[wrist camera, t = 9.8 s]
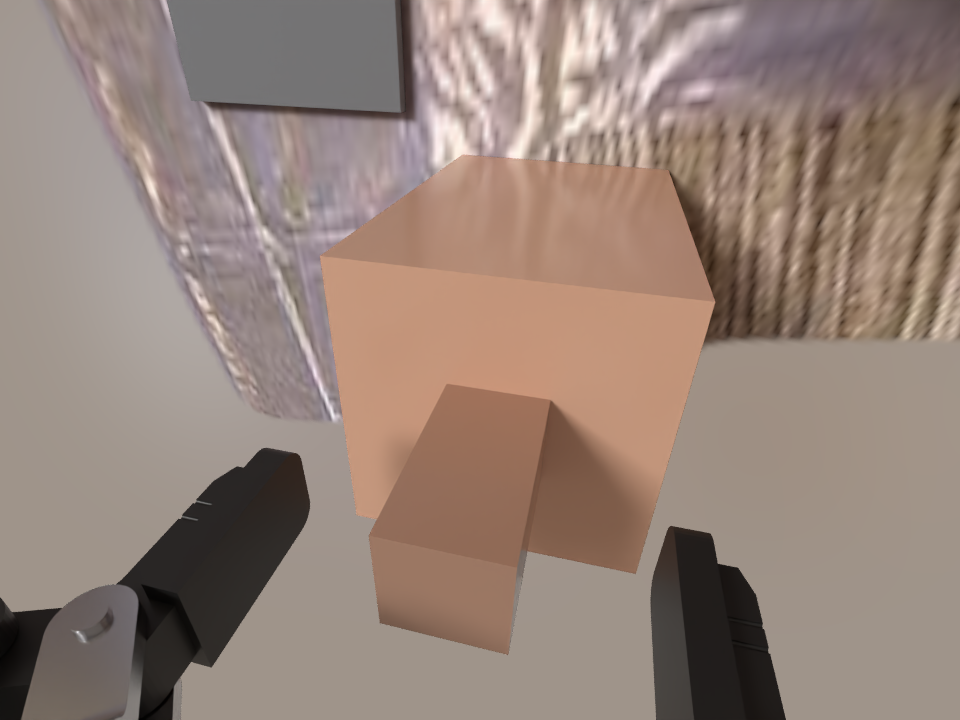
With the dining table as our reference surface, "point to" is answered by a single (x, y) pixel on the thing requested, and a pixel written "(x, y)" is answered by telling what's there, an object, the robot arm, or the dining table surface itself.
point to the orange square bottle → (511, 378)
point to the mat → (293, 52)
